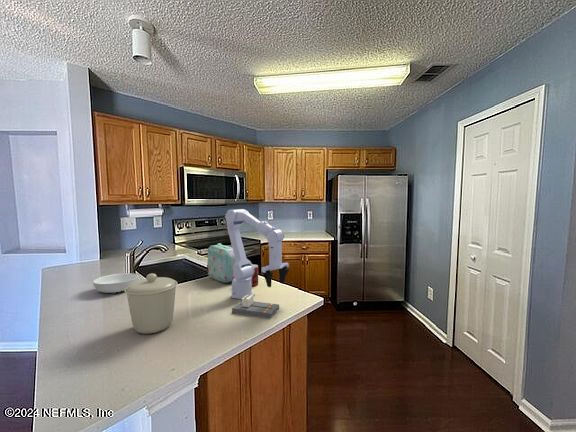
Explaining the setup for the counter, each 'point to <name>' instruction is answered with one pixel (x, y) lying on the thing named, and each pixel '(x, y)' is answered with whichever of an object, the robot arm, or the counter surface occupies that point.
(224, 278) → the lunch box
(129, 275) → the serving bowl
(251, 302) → the fader knob
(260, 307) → the fader console
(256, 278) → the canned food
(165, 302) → the canister
